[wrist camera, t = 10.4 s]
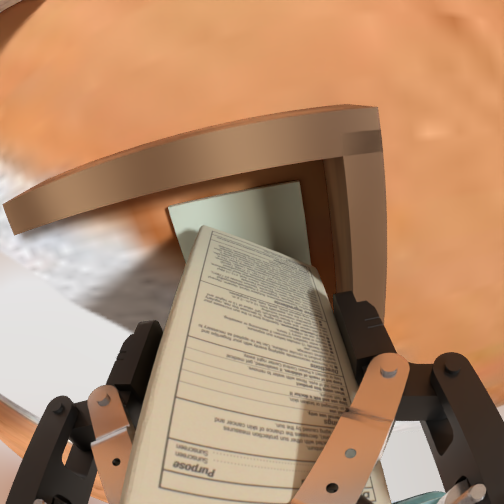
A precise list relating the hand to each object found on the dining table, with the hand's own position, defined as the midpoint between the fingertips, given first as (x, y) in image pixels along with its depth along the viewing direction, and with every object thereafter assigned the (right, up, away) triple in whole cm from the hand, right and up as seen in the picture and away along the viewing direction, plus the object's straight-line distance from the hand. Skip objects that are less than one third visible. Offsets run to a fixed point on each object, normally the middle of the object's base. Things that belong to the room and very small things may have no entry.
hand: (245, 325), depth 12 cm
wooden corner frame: (-1, 0, +6) cm, 6 cm away
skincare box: (0, +2, +3) cm, 4 cm away
